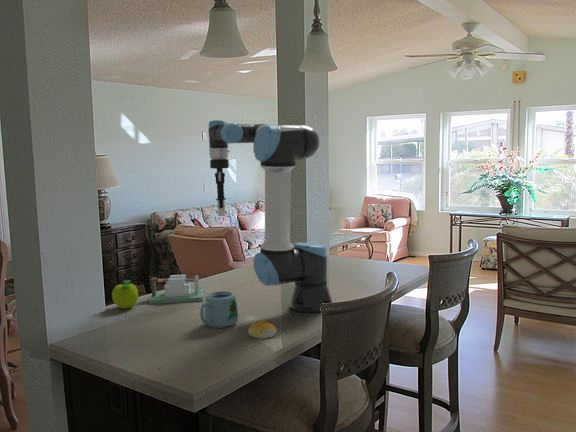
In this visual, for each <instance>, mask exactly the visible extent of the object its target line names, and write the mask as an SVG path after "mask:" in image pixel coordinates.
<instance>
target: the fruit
mask: <svg viewBox="0 0 576 432" xmlns="http://www.w3.org/2000/svg"><path fill="white" fill-rule="evenodd" d="M122 282H123V283H120V284H118V285H115V286H114V288H113V289H112V293H111V298H112V301H113V303H114V304H115V305H116V306H117V307H118V308H119V309H123V310H126V309H127V310H128V309H130V308H132V307H134V306H135V304H137V302H138V299H139V292H138V291H139V290H138V288H137V286H136V285H135V284H133V283H131V280H130V279H127V280H126V279H124V280H123V281H122Z"/></svg>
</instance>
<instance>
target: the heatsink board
mask: <svg viewBox="0 0 576 432" xmlns="http://www.w3.org/2000/svg"><path fill="white" fill-rule="evenodd" d="M167 279H168V282H165V284H164V286H163V287H164V290H157V285H156V283H157V282H156V281H157V280H158V277H152V278H151V280H150V282H151V297H150V299H149V304H148V305H152V304H153V305H154V304H155V305H156V304H157V305H158V304H171V303H173V304H175V303H191V302H195V303H196V302H203V300H204V299H205V298H204V296H205V293H206V289H205V288H200V283H199V282H200V281H199V275H195V276H194V278H193V279H194V280H195V282H194V288H191V282H185V280H184V279H187V276H186V274H172V275H170V276H169V278H167Z"/></svg>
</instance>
